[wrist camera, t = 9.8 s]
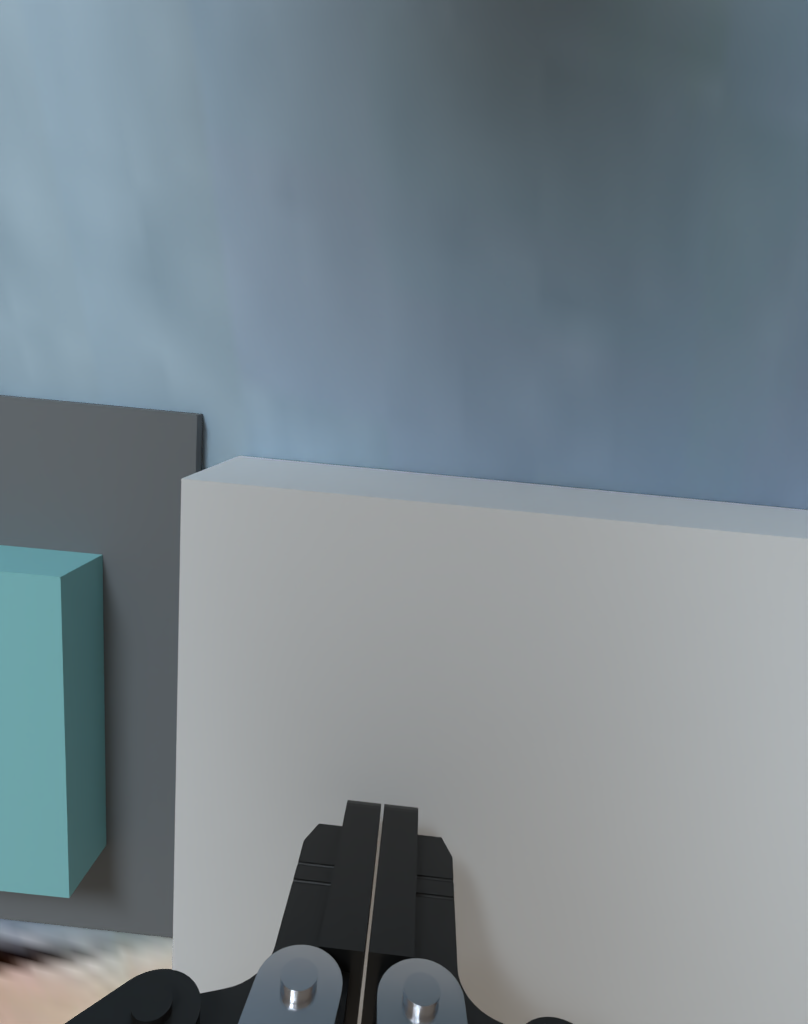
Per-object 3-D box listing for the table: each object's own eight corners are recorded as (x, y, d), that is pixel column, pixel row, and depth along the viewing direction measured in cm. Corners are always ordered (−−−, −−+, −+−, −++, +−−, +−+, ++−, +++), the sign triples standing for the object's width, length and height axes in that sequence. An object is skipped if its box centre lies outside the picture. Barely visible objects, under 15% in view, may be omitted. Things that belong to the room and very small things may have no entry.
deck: (238, 455, 17) (181, 479, 13) (1006, 529, 16) (1185, 575, 13) (222, 904, 20) (171, 1034, 16) (874, 976, 19) (987, 1127, 15)
